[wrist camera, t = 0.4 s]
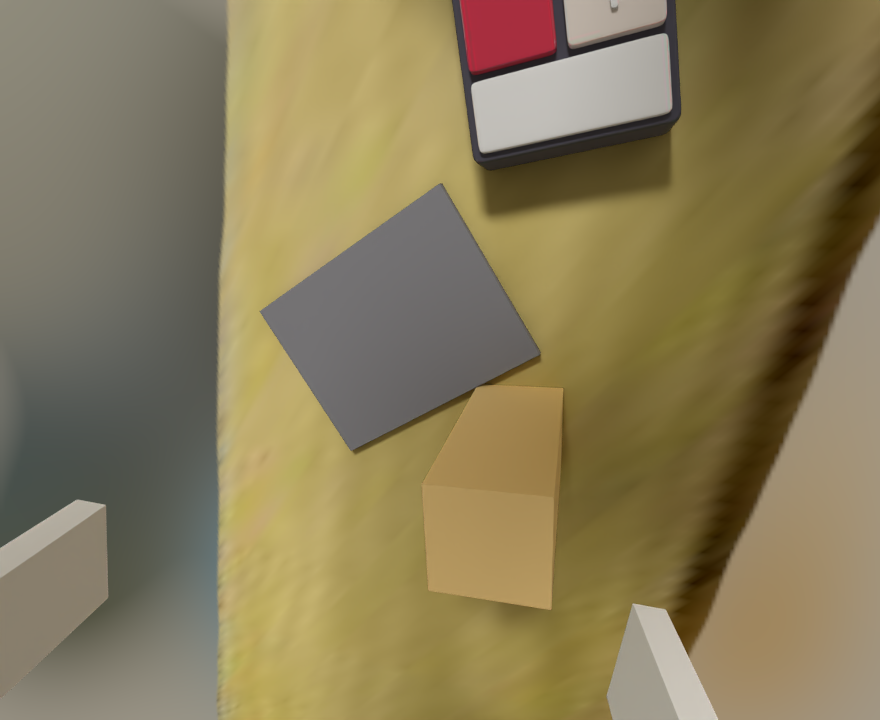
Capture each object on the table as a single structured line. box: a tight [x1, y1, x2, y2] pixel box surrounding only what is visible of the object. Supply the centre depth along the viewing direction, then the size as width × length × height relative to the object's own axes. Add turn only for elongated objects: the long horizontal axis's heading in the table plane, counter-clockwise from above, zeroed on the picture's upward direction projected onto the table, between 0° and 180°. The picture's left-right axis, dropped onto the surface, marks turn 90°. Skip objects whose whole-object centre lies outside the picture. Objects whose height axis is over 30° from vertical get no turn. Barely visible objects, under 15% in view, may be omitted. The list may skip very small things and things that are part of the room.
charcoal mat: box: [260, 184, 541, 451], centre depth 36 cm, size 17×13×1 cm
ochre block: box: [422, 384, 563, 610], centre depth 30 cm, size 6×6×14 cm
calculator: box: [452, 0, 681, 170], centre depth 27 cm, size 11×4×15 cm
